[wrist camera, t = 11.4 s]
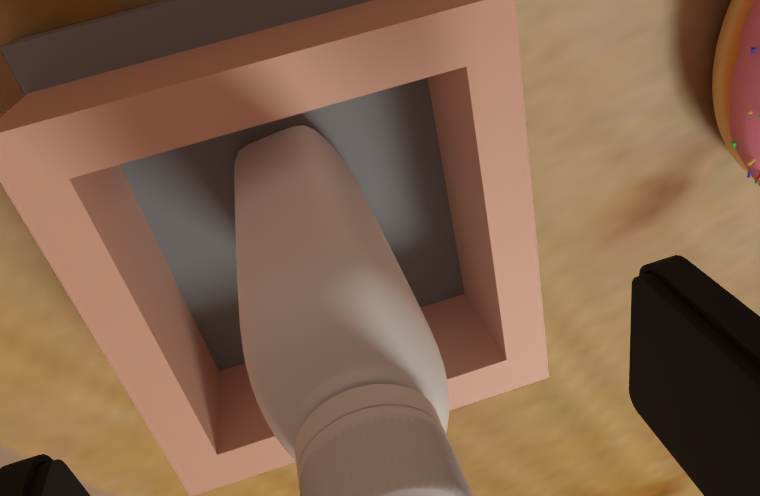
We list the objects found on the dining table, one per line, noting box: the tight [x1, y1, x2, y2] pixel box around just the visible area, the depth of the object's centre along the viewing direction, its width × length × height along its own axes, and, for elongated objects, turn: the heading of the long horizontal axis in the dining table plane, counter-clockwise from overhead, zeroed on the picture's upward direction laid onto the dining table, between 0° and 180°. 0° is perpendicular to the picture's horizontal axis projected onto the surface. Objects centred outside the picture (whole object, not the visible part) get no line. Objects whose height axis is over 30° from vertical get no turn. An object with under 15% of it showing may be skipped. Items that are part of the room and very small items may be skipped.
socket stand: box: [0, 0, 549, 496], centre depth 16 cm, size 13×11×4 cm
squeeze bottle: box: [234, 125, 472, 496], centre depth 12 cm, size 4×6×12 cm
